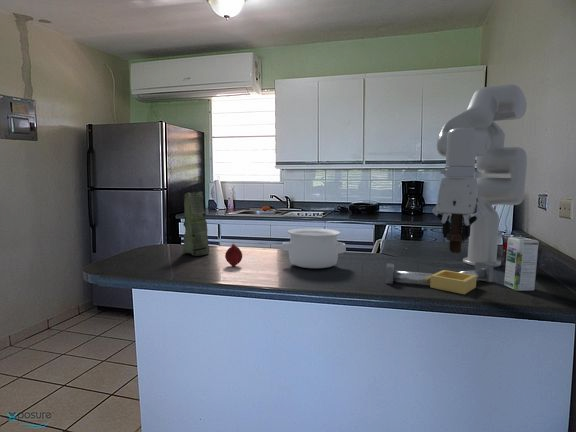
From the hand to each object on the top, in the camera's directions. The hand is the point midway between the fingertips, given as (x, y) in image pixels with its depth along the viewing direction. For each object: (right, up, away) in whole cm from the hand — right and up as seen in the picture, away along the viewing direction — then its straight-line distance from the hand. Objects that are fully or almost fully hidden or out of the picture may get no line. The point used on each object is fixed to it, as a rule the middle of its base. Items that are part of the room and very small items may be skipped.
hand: (455, 237), depth 112 cm
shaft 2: (+8, -14, +8) cm, 18 cm away
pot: (-39, -12, +26) cm, 48 cm away
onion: (-66, -11, +24) cm, 71 cm away
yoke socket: (0, -14, +2) cm, 15 cm away
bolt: (0, -5, 0) cm, 5 cm away
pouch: (-84, -9, +44) cm, 96 cm away
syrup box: (+19, -15, +2) cm, 24 cm away
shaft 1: (-11, -14, +5) cm, 18 cm away
